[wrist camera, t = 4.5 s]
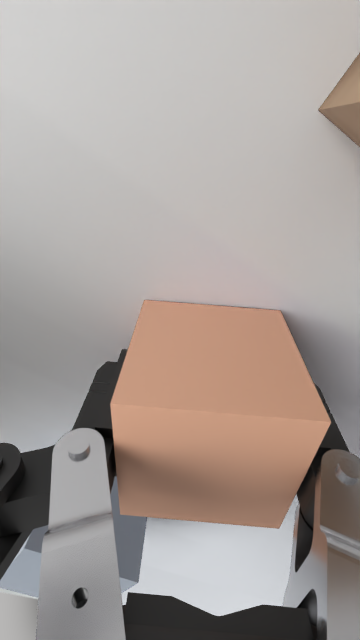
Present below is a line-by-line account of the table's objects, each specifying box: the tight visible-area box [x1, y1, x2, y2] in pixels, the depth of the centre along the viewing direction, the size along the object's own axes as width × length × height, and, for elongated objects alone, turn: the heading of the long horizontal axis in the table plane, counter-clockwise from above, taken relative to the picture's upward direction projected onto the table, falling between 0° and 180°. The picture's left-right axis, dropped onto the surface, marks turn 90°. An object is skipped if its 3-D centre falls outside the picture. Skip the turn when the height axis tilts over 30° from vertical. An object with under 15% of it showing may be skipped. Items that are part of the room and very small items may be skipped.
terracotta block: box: [110, 300, 331, 529], centre depth 10 cm, size 5×5×5 cm
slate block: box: [0, 476, 147, 598], centre depth 16 cm, size 5×5×5 cm
